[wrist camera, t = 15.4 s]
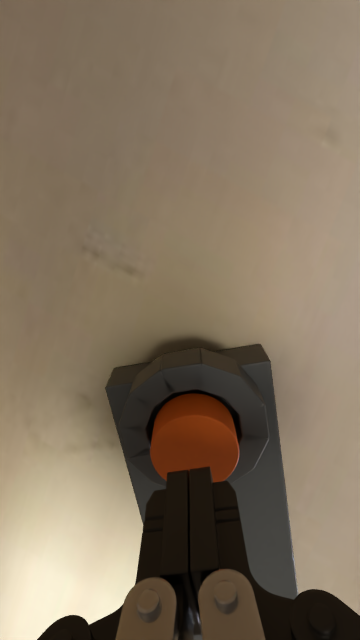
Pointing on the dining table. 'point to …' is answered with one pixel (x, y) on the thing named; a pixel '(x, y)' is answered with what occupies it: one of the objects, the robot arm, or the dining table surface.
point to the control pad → (252, 434)
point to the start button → (194, 437)
